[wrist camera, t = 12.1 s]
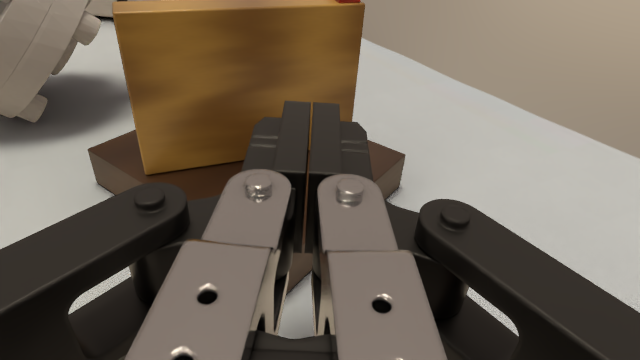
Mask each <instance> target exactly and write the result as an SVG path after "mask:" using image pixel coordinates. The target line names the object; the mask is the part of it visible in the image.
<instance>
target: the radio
mask: <svg viewBox="0 0 640 360" xmlns="http://www.w3.org/2000/svg"><path fill="white" fill-rule="evenodd" d="M119 1H155V0H92V1H91V3H90V4H89V6H88V7H87V8H86V9H85V11H87V12H88V13H90V14H92V15H93V16H104V17H113V15H112V2H119Z"/></svg>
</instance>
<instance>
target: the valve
mask: <svg viewBox="0 0 640 360" xmlns="http://www.w3.org/2000/svg"><path fill="white" fill-rule="evenodd" d="M91 1H92V0H0V114H1V115H3V116H6V117H8V118H13V117H15V116H18V117H21V118H23V119H26V120H28V121H30V122H33V123H34V122H36V121H37V120H38V119H39V118H40V117H41V115H42V113H43V111H44V109H45V107H46V104H47V98H46V97H44V96H41V95H39V94H37V93H38V92H39V90H40V89H41V87H42V86H43V84H44V83H45V82H46V80H47V79H48V77H49V76H50V74H52V75H56V74H58V73H59V72H60V71H61V70H62V69H63V67H64V66H65V64H66V63H67V62H68V60H69V58H70V56H71V55H72V53H73V51H74V49H75V47H76V45H77V42H80V43H81V44H83V45H89V44H90V43H91V42H92V41H93V39H94V38H95V36H96V35H97V33H98V30H99V28H100V25H101V21H100V19H98V18H96V17H95V16H93V15H92V14H90V13H88V12H87V11H85V9H86V8H87V7H88V6H89V4H90V3H91Z"/></svg>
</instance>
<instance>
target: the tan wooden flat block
mask: <svg viewBox="0 0 640 360" xmlns="http://www.w3.org/2000/svg"><path fill="white" fill-rule="evenodd" d="M364 10H365V4H364V3H362V2H361V1H360V0H155V1H119V2H112V15H113V20H114V25H115V29H116V34H117V39H118V44H119V49H120V54H121V59H122V64H123V69H124V74H125V79H126V83H127V88H128V93H129V98H130V103H131V108H132V113H133V118H134V123H135V128H136V133H137V138H138V142H139V147H140V152H141V157H142V162H143V167H144V172H145V174H146V175H150V174H157V173H163V172H170V171H176V170H183V169H190V168H196V167H203V166H209V165H216V164H223V163H229V162H236V161H242V160H244V159H245V156H246V153H247V149H248V146H249V142H250V139H251V135H252V132H253V129H254V125H255V124H257V123H258V122H259V121H260V120H262V119H263V118H264V117H277V118H282V112H283V107H284V102H285V101H302V102H311V113H310V132H309V150H310V145H311V130H312V115H313V102H319V103H336V104H339V107H340V121H345V122H352V116H353V108H354V99H355V90H356V81H357V72H358V63H359V55H360V46H361V37H362V27H363V18H364Z"/></svg>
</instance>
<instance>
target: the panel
mask: <svg viewBox="0 0 640 360" xmlns="http://www.w3.org/2000/svg"><path fill="white" fill-rule="evenodd" d="M367 141H368V147H369V154H370V161H371V168H372V175H373V181H374V183H375V184H376V185H377V186H378V187H379V188H380V190H381V192H382V195H383V199H384V200H385V199H386V198H387V197H388V196H389V195H390V194H391V193H392V192H394V191H395V190H396V189H397V188H398V187H399V185H400V180H401V175H402V170H403V165H404V160H405V154H403V153H400V152H398V151H395V150H392V149H390V148H387V147H385V146H382V145H380V144H377V143H375V142H372V141H369V140H367ZM88 153H89V156H90V160H91V163H92V167H93V170H94V174H95V177H96V181H97V183H98V184H100V185H101V186H103V187H104V188H106V189H107V190H109V191H110V192H112V193H113V194H115V195H117V194H120V193H122V192H124V191H126V190H128V189H130V188H133V187H135V186H138V185H141V184H146V183H153V182H163V183H169V184H173V185H176V186H178V187H180V188H181V189H182V190H183V191H184V192H185V194H186V196H187V201H189V200H196V199H202V198H208V197H213V196H216V195H219V194H222V192H223V190H224V188H225V186H226V184H227V182H228V180H229V179H230V178H231V177H233V176H234V175H236V174H238V173H240V172H241V170H242V166H243V163H244V160H242V161H236V162H229V163H223V164H216V165H209V166H203V167H196V168H190V169H183V170H176V171H170V172H163V173H157V174H150V175H146V174H145V172H144V167H143V162H142V157H141V152H140V147H139V142H138V138H137V133H136V130H134V131H131V132H129V133H126V134H124V135H121V136H119V137H116V138H114V139H111V140H109V141H107V142H104V143H102V144H99V145H97V146H94V147H92V148H89V149H88ZM309 161H310V150H309V152H308V169H307V184H306V198H305V213H304V227H303V241H302V253H293V258H292V265H291V268H290V270H289V281H288V286H287V291H286V294H287V293H288V292H289V291H290V290H291V289H292V288H293V287H294V286H295V285H296V284H297V283H298V282H299V281H300V280H301V279H302V278H303V277H304V276H306V275H307V274H308V273H309V272H310V271H311V270H312V259H313V254H311V253H305V234H306V215H307V196H308V177H309Z"/></svg>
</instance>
